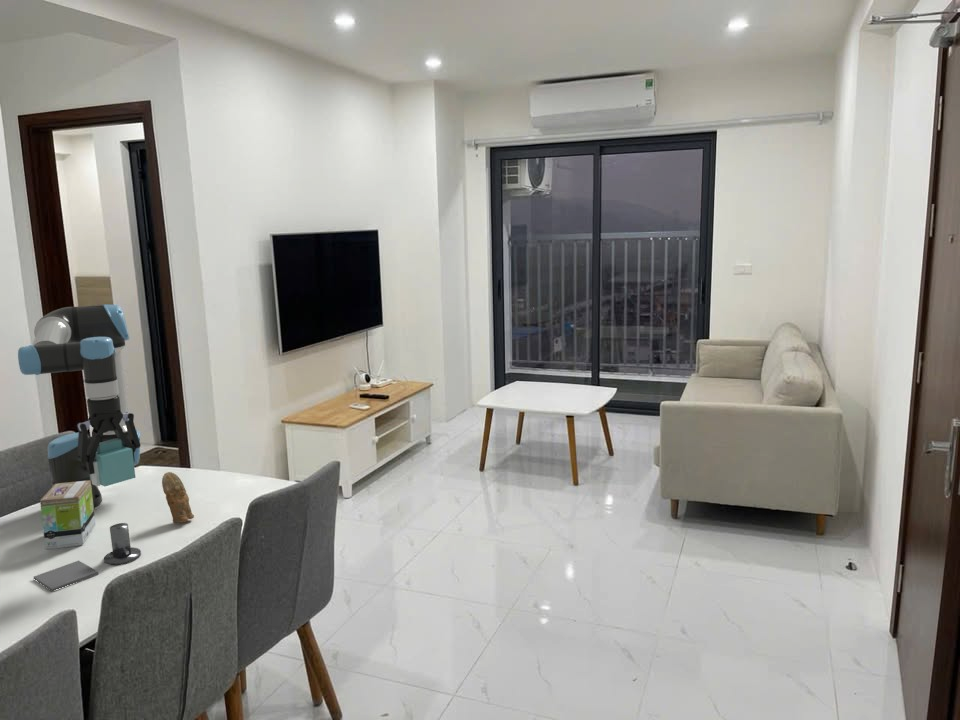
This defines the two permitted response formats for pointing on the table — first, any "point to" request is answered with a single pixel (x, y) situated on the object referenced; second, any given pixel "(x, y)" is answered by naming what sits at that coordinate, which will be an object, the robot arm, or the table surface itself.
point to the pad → (66, 575)
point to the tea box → (67, 514)
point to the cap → (114, 462)
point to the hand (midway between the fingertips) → (113, 479)
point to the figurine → (176, 497)
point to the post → (121, 546)
